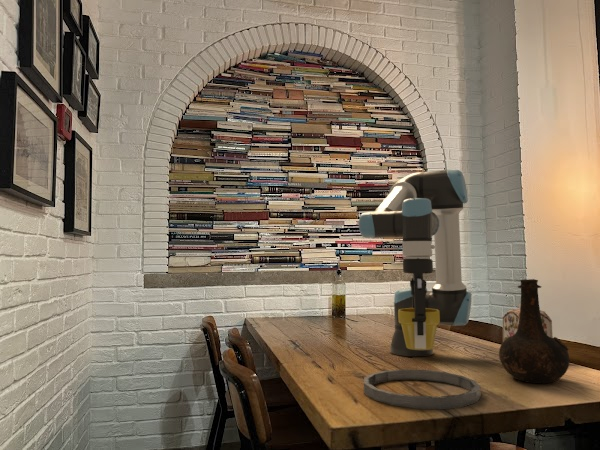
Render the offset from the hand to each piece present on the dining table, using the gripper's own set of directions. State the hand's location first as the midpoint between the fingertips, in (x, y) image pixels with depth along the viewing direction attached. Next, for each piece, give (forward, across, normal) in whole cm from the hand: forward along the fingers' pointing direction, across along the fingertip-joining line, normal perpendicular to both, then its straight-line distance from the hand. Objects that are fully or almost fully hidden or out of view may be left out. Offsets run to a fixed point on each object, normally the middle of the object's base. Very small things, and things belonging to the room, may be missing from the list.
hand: (419, 344), depth 127 cm
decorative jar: (+12, +52, -39) cm, 66 cm away
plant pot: (+1, 0, 0) cm, 1 cm away
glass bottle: (+12, +19, -32) cm, 39 cm away
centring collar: (+12, 0, 0) cm, 12 cm away
